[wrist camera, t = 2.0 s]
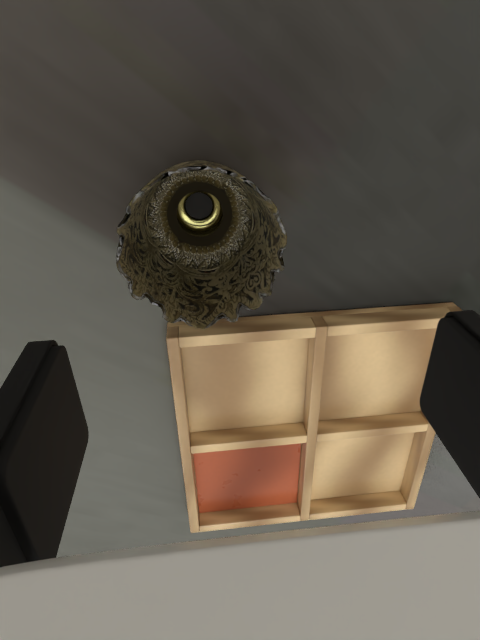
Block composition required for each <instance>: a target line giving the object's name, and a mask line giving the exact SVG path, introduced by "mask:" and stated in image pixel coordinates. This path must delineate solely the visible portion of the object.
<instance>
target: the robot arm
mask: <svg viewBox="0 0 480 640" xmlns="http://www.w3.org/2000/svg"><path fill="white" fill-rule="evenodd" d="M420 408H421V411H422V413H423V414H424V416H425V417H426V419H427V420H428V422H429V423H430V425H431V426H432V428H433V429H434V431H435V432H436V434H437V435H438V437H439V438H440V440H441V441H442V443H443V444H444V446H445V447H446V449H447V450H448V452H449V453H450V455H451V456H452V458H453V459H454V461H455V462H456V464H457V465H458V467H459V468H460V470H461V471H462V473H463V474H464V476H465V477H466V479H467V480H468V482H469V483H470V484H471V486H472V487H473V489H474V490H475V492H476V493H477V495H478V496H479V498H480V315H478V314H477V313H476V312H474V311H473V310H467V311H453V312H448V313H447V314H446V315H445V317H444V318H441V319H440V320H439V322H438V325H437V329H436V333H435V338H434V342H433V346H432V350H431V354H430V358H429V362H428V367H427V371H426V375H425V379H424V383H423V387H422V391H421V396H420ZM87 443H88V427H87V423H86V419H85V416H84V412H83V409H82V405H81V401H80V398H79V394H78V390H77V387H76V383H75V380H74V376H73V372H72V369H71V365H70V361H69V358H68V354H67V351H66V348H65V347H64V346H58V344H57V343H56V341H54V340H49V341H35V342H28V344H27V345H26V346H25V348H24V350H23V351H22V353H21V355H20V356H19V358H18V360H17V361H16V363H15V365H14V366H13V368H12V370H11V371H10V373H9V375H8V377H7V378H6V380H5V382H4V383H3V385H2V387H1V388H0V640H480V511H471V512H461V513H451V514H441V515H432V516H422V517H412V518H402V519H392V520H383V521H373V522H364V523H354V524H345V525H335V526H326V527H317V528H307V529H298V530H289V531H280V532H270V533H261V534H252V535H243V536H234V537H225V538H216V539H207V540H198V541H189V542H180V543H172V544H163V545H154V546H145V547H136V548H128V549H120V550H112V551H104V552H97V553H89V554H81V555H73V556H66V557H58V558H56V555H57V552H58V548H59V544H60V541H61V537H62V533H63V530H64V526H65V523H66V519H67V515H68V512H69V508H70V505H71V501H72V497H73V494H74V490H75V487H76V483H77V479H78V476H79V472H80V468H81V465H82V461H83V458H84V454H85V450H86V447H87Z"/></svg>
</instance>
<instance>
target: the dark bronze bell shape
mask: <svg viewBox="0 0 480 640" xmlns="http://www.w3.org/2000/svg"><path fill="white" fill-rule="evenodd" d="M197 192H201V193H204V194H206V195H208V196H209V197H210V199H211V200H212V203H213V209H212V212H211V214H210V215H209V216H208V217H207V218H205V219H202V220H196V219H193V218H191V217H190V216H189V215H188V214H187V212H186V209H185V203H186V200H187V198H188V197H189V196H190V195H191V194H193V193H197ZM126 212H127V213H126V215H125V216H124V218H123V220H122V221H121V222H120V224H119V225H118V228H117V234H118V235H120V239H119V244H118V249H117V257H116V264H117V268H118V270H119V272H120V273H121V275H122V276H123V277H124V278H125V279H126V280H127V281H128V282H129V284H128V287H129V291H130V293H131V295H132V297H133V298H134V299H136V300H139V299H140V300H142V299H144V298H145V297H147V298H148V299H149V301H150V302H151V304H153V305H157V306H159V307H161V309H162V311H163V318H164V319H165V320H167V321H168V322H170V323H176V322H178V321H179V320H180V319H181V320H182V321H184V322H185V323H186V324H187V325H189V326H192V327H195V328H200V329H206V328H208V327H210V326H212V325H213V324H215V323H216V322H217V321H218V320H220V319H222V318H224V317H225V318H226V319H227V321H230V322H236V321H237V320H238V317H239V311H240V307H241V306H243V307H244V308H245V309H248V310H255V309H257V308H258V307H259V306H260V305H261V303H262V302H263V296H264V297H266V296H270V295H271V293H272V288H273V282H274V280H275V275H274V272H280V271H282V270H283V269H284V262H283V258H282V253H283V250H284V249H285V248H286V243H287V235H286V231H285V228H284V226H283V223H282V221H281V218H280V216H279V215H278V209H277V207H276V206H275V204H274V203H273V202H272V200H271V199H270V198H268V197H267V196H266V195H265V194H264V193H263V192H262V191H261V190H260V189H259V188H258V187H257V186H256V185H255V184H254V183H252V182H251V181H249V180H248V179H246V177H245V176H243V175H241V174H239V173H238V172H236V171H235V170H233V169H231V168H229V167H227V166H224V165H222V164H218V163H215V162H210V161H188V162H183V163H180V164H177V165H174V166H172V167H170V168H168V169H166V170H164V171H163V172H161V173H160V174H158V175H157V176H156V177H155V178H153V179H152V180H151V181H150V182H149V183H148V184H147V185H145V186H144V187H143V188H142V189H141V190H140V192H138V193H137V194H136V195H135V196H134V197H133V198H132V200H131V201H130V203H129V205H128V206H127V209H126ZM143 295H144V296H143ZM226 319H224V320H226Z"/></svg>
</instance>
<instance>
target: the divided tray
mask: <svg viewBox="0 0 480 640" xmlns="http://www.w3.org/2000/svg"><path fill="white" fill-rule="evenodd" d="M453 311H462V310H461V309H460V308H459V307H458V306H456V305H455V304H454V303H453V302H450V303H436V304H422V305H407V306H393V307H379V308H365V309H351V310H336V311H322V312H308V313H294V314H279V315H265V316H251V317H238V320H237V321H236V322H230V321H227V319H226V318H223V319H220V320H218V321H217V322H216V323H215V324H213V325H212V326H210V327H208V328H206V329H200V328H195V327H192V326H189V325H187V324H186V323H185V322H184V321H180V322H176V323H170V322H168V323H167V334H166V342H167V350H168V358H169V366H170V373H171V381H172V389H173V397H174V405H175V413H176V421H177V429H178V437H179V445H180V453H181V460H182V468H183V476H184V484H185V492H186V500H187V508H188V516H189V524H190V532H191V533H195V532H199V531H200V532H205V531H214V530H223V529H232V528H241V527H250V526H259V525H268V524H277V523H286V522H295V521H304V520H314V519H324V518H333V517H342V516H351V515H360V514H369V513H378V512H387V511H396V510H405V509H413V508H414V505H415V502H416V498H417V495H418V492H419V488H420V485H421V481H422V478H423V474H424V471H425V467H426V464H427V460H428V457H429V453H430V450H431V447H432V443H433V440H434V436H435V433H436V432H435V431H434V429H433V428H432V426H431V425H430V423H429V422H428V420H427V419H426V417H425V416H424V414H423V413H422V411H421V408H420V396H421V391H422V387H423V383H424V379H425V375H426V371H427V367H428V362H429V358H430V354H431V350H432V346H433V342H434V338H435V333H436V329H437V325H438V322H439V320H440V319H441V318H444V317H445V315H446V314H447V313H448V312H453ZM224 319H226V320H224Z"/></svg>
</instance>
